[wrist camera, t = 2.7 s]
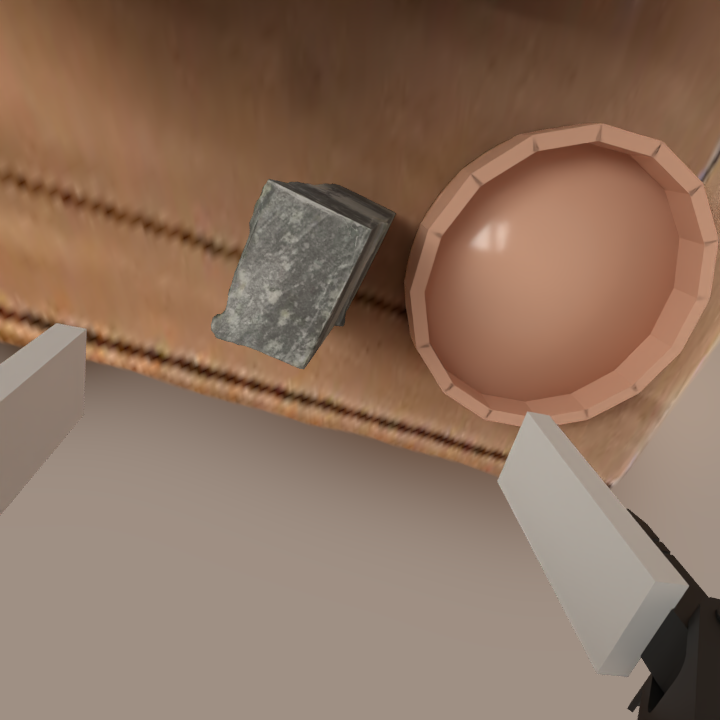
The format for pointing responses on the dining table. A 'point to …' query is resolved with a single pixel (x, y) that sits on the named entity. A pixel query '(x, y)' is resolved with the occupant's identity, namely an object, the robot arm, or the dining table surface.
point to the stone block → (300, 268)
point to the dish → (560, 273)
